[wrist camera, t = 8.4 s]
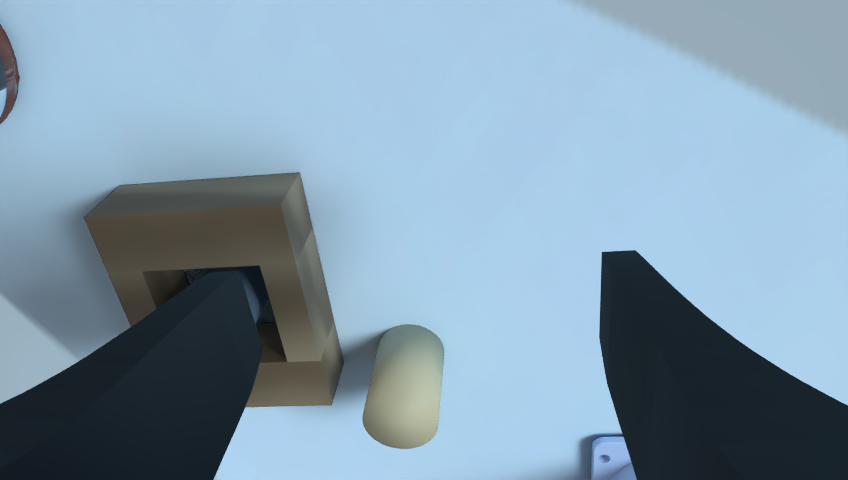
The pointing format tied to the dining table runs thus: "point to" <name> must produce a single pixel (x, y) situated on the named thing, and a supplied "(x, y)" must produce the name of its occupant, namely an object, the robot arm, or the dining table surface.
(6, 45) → the supplement bottle
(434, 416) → the short dowel
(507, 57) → the dining table surface
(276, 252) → the block with square hole
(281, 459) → the dining table surface
